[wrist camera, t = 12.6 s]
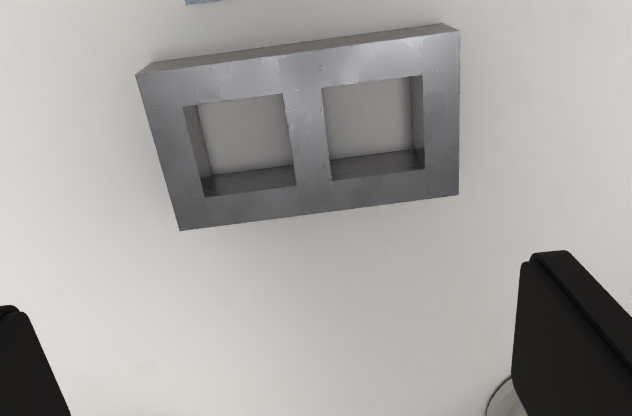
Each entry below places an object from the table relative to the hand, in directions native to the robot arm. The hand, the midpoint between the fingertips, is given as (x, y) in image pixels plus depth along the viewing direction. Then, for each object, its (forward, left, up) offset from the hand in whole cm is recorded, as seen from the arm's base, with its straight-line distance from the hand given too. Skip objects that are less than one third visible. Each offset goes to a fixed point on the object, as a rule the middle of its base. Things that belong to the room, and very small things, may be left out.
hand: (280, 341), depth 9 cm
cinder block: (-1, +3, -24) cm, 24 cm away
